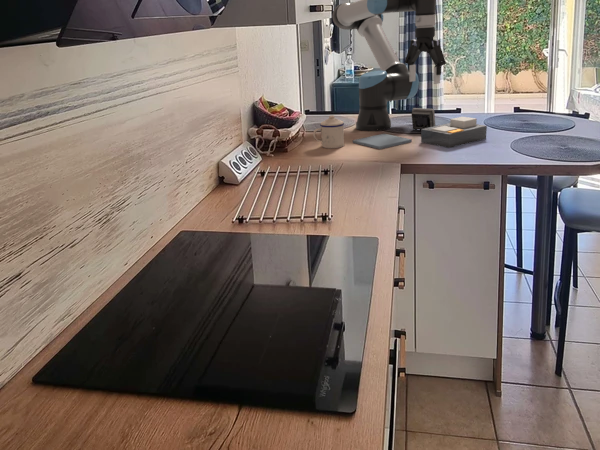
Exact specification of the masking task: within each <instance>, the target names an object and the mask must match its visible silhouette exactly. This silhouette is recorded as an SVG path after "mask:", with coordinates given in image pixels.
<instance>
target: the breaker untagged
mask: <svg viewBox="0 0 600 450" xmlns="http://www.w3.org/2000/svg"><path fill="white" fill-rule="evenodd" d="M449 120H450V121H449V123H450V126H453V127H459V128H468V127H472V126H476V124H477V120H478V119H477V118H475V117H468V116H458V117H455V118H454V117H453V118H450V119H449Z"/></svg>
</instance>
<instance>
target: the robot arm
mask: <svg viewBox="0 0 600 450" xmlns="http://www.w3.org/2000/svg"><path fill="white" fill-rule="evenodd" d="M436 2H437V1H436V0H357V1H355V2H344V3H343V2H342V3H340V4H338V5H336V6H335V8H334V9H333V12H332V16H331V17H332V21H333V23H334V25H335V26H337V28H340V29H341V30H357V32H358V34H359V36H361V37H364V39H365V41H366V42H367V44H368V47H369V48H370V51H371V52H372V54H373V56H374V58H375V60H376V62H377V64H378V66H379V68H380V70H375V71H368V72H366V73H363V74H361V75H360V76H359V78H358V95H359V96H358V97H359V112H358V115H357V118H356V122H355V129H356V130H359V131H365V132H366V131H367V132H376V131H377V132H378V131H384V130H389V129H391V128H392V121H391V118H390V114H389V111H388V102H391V101H392V102H393V101H401V100H408V99H412V98H414V97H415V96H416V94H417V93H418V90H419V87H420V86H419V85H420V83H419V82H420V81H419V80H420V79H419V75H418V73H417V72H416V61H417V59H418V58H419V56H420V55H421V53H422V52H423V53H427V54H428V56H430V58H431V60H432V62H433V64H434V66H433V85H437V84H440V83H441V75H442V66H444V65H446V63H447V62H446V59H445V56H444V52H443V50H442V47H441V40H440V39H434V38H435V37H436V36H435V35H436V28H435V25H436V6H437V5H436ZM403 12H404V13H405V12H406V13H407V12H408V13H409V12H415V24H414V25H415V27H416V28H415V35H414V37H415V38H416V39H411V40H410V44H409V47H408V51H407V54H406V56H405V59H404V62H401V61H400V60H399V58H398V56H397V53H396V52H395V50H394V48H393V46H392V45H391V42H390V41H389V39H388V37H387V35H386V33H385V31H384V29H383V27H382V25H383V21H384V14H390V13H403ZM406 64H407V65H408V66H407V65H406ZM390 127H391V128H390ZM388 128H389V129H388Z"/></svg>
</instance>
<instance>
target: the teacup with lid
mask: <svg viewBox="0 0 600 450" xmlns="http://www.w3.org/2000/svg"><path fill="white" fill-rule="evenodd" d="M344 122H345V121H343V120H341V119H339V118H336V117H335V115H329V116H328V118H327V119H325V120H323V121H321V122H320V127H319V128H316V129H314V130H313V134H312V135H313V139H315V140H316V142H321V147H322V148H324V149H339V148H342V147H343V146H345V131H344V126H345V123H344ZM318 131H320V134H321V135H320V136H321V137H320V138H317V136H316V133H317V132H318Z"/></svg>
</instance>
